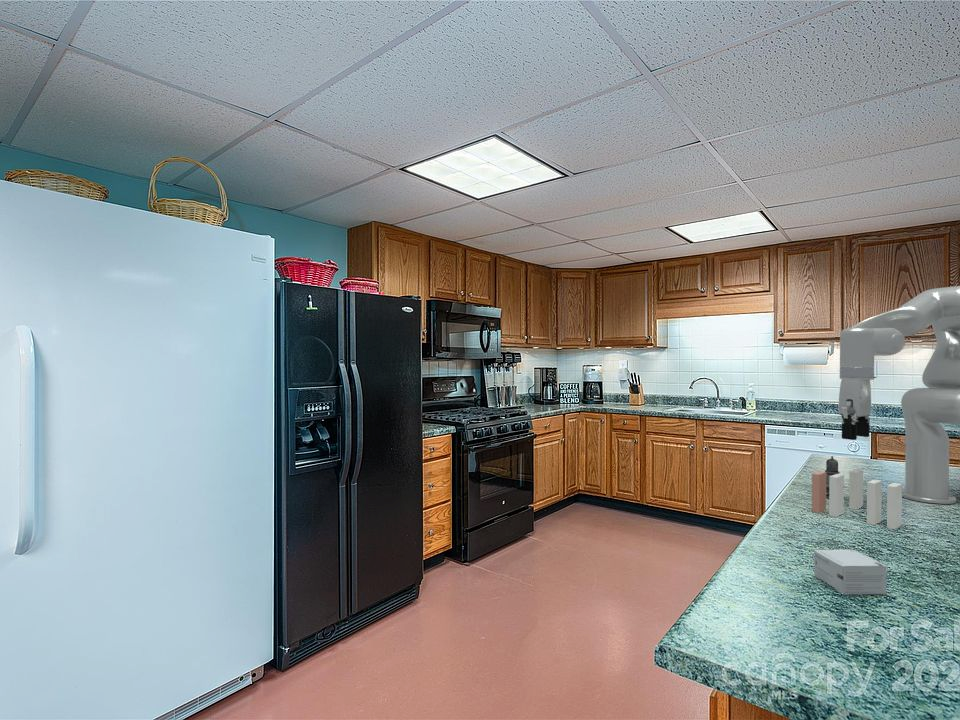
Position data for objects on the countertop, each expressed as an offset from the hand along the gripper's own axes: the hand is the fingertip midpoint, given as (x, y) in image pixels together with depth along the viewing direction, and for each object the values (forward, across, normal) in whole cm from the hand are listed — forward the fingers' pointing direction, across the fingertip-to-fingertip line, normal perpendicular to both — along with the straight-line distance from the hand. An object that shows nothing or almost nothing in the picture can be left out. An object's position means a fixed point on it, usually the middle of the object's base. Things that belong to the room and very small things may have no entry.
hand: (855, 437), depth 139 cm
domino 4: (+19, +10, +11) cm, 24 cm away
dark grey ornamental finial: (+19, -8, -8) cm, 22 cm away
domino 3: (+19, +10, +7) cm, 23 cm away
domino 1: (+19, +10, -1) cm, 22 cm away
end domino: (+19, +10, -5) cm, 22 cm away
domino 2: (+19, -1, 0) cm, 19 cm away
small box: (+20, +56, +16) cm, 62 cm away
